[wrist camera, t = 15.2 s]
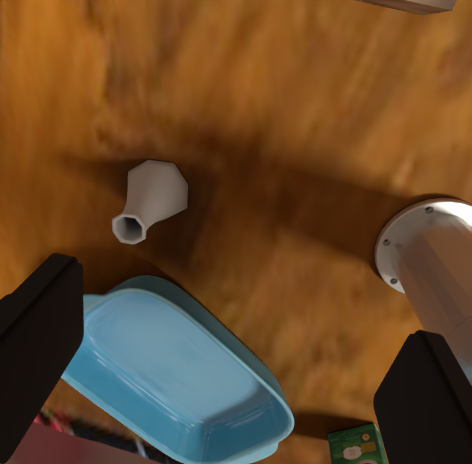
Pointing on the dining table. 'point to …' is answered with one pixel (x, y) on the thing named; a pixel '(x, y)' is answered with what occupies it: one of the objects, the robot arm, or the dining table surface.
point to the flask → (150, 199)
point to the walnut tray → (416, 5)
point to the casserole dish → (177, 376)
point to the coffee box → (357, 446)
